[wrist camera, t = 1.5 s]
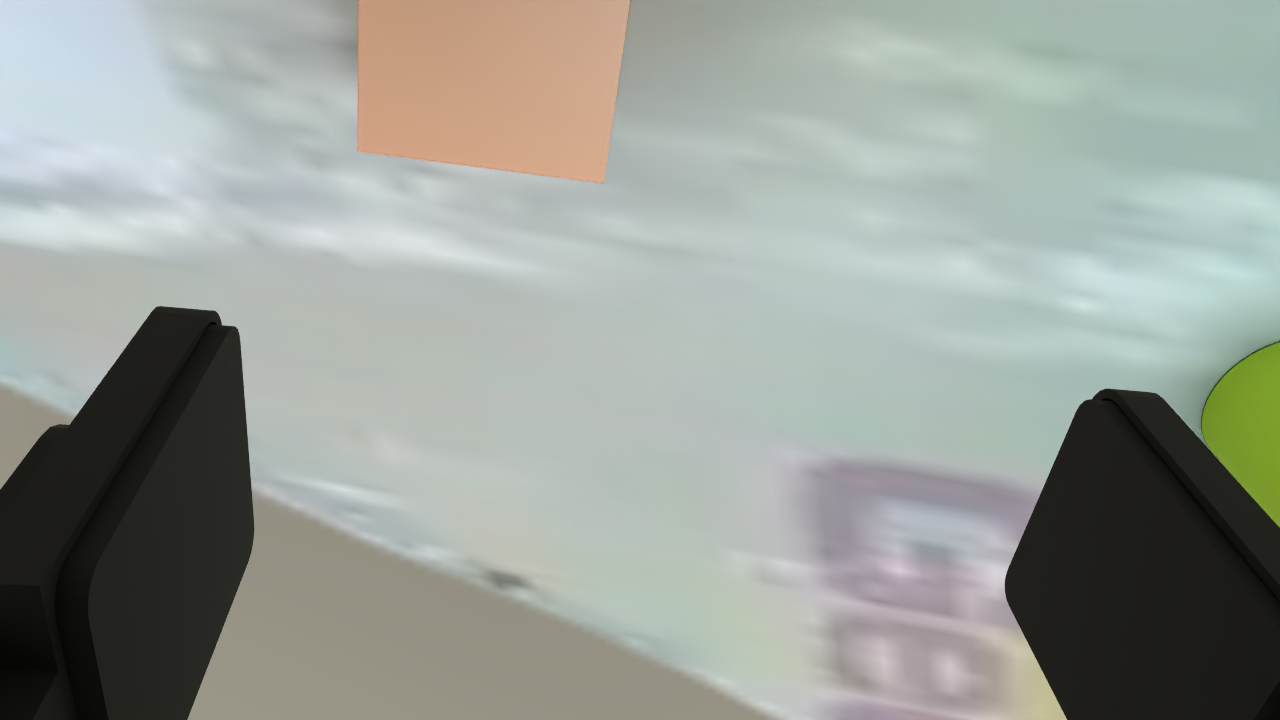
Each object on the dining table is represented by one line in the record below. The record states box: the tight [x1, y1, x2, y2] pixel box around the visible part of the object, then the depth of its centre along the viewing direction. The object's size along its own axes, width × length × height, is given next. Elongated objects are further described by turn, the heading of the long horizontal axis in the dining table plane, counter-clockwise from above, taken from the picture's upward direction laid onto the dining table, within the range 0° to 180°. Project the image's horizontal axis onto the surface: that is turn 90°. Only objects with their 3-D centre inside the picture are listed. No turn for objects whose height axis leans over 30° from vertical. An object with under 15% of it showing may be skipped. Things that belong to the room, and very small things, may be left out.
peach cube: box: [357, 0, 630, 183], centre depth 27 cm, size 6×6×5 cm
